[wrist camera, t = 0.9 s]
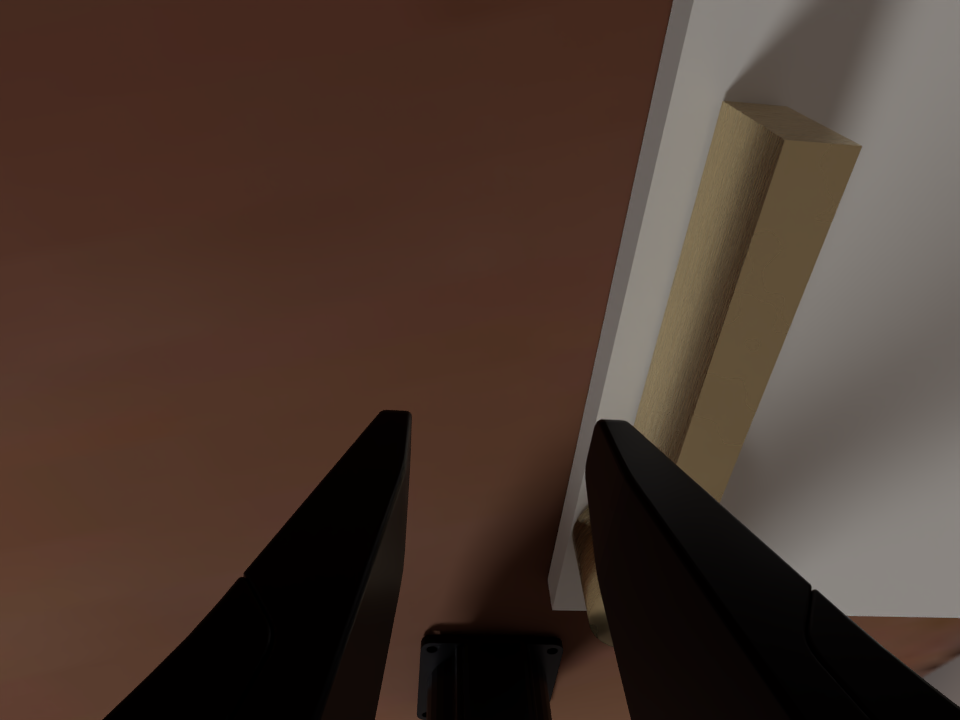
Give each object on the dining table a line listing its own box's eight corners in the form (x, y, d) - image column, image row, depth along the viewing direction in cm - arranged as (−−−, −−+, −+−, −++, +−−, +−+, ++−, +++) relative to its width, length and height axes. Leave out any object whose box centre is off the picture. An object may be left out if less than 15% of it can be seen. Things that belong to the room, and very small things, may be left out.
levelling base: (941, 588, 29) (987, 649, 27) (547, 579, 28) (557, 643, 25) (1395, -29, 16) (1566, -21, 14) (696, -105, 15) (746, -112, 12)
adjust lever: (666, 568, 25) (694, 652, 22) (564, 565, 25) (579, 649, 22) (833, 109, 16) (919, 150, 13) (674, 96, 16) (725, 135, 13)
